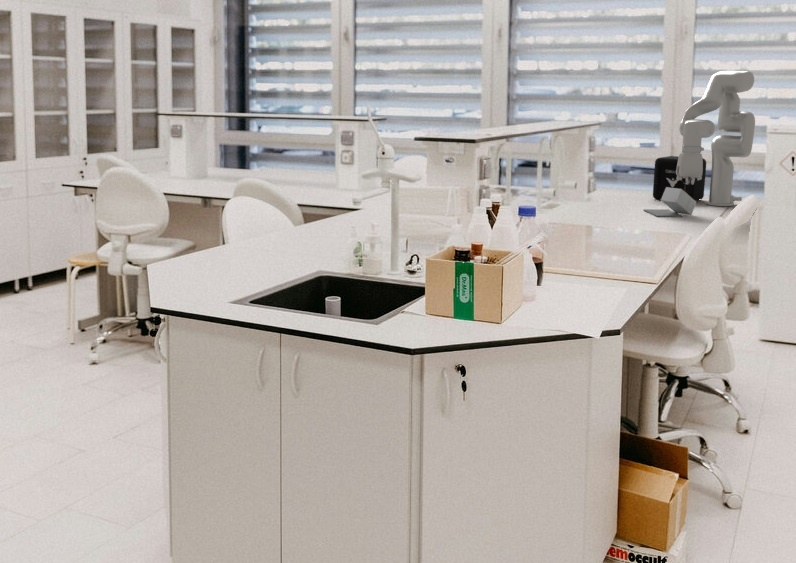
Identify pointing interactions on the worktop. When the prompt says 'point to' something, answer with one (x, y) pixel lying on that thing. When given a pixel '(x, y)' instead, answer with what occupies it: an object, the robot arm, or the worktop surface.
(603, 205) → the worktop surface
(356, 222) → the worktop surface
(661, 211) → the rubber mat
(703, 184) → the air purifier
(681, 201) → the small box
